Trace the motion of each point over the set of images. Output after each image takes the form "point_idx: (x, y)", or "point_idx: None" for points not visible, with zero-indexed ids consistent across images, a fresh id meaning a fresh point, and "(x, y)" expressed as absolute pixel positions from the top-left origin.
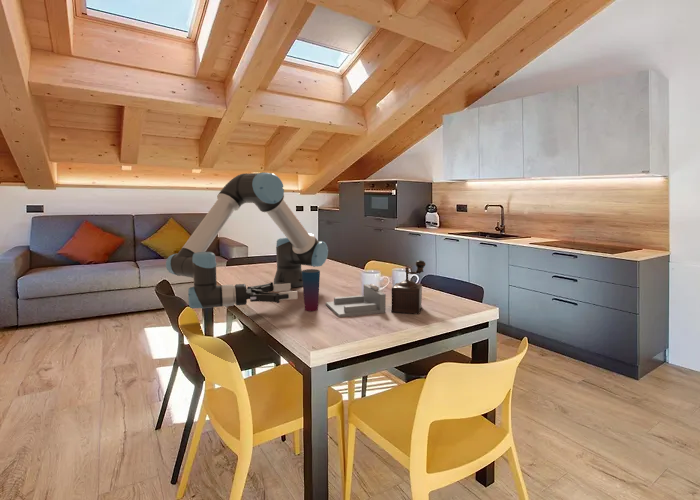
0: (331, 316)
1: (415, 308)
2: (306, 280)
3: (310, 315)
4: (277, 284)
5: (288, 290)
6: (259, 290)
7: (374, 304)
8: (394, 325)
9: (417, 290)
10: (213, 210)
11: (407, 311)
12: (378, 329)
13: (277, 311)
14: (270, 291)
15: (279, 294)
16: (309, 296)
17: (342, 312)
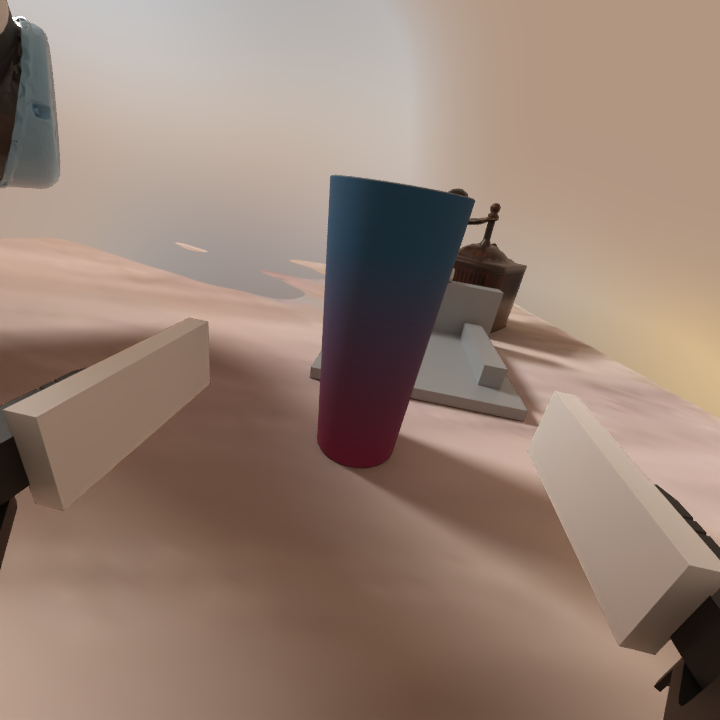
0: (507, 433)
1: (508, 313)
2: (436, 271)
3: (475, 490)
4: (94, 383)
5: (198, 392)
6: None
7: (480, 327)
8: (610, 376)
9: (525, 268)
10: None
11: (498, 324)
12: (667, 409)
13: (255, 673)
14: (2, 555)
15: (710, 591)
16: (413, 381)
17: (496, 393)
